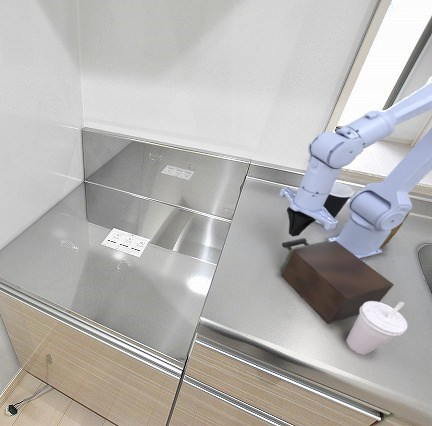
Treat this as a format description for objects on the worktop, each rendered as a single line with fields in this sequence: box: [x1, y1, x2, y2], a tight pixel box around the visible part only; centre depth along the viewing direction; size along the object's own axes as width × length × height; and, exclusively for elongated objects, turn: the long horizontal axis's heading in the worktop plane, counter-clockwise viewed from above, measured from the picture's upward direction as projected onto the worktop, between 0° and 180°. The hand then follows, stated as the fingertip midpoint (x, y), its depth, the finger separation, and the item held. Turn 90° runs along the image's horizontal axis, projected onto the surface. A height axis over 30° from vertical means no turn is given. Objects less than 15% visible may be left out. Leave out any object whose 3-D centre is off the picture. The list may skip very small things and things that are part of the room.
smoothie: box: [345, 301, 408, 356], centre depth 53 cm, size 6×6×14 cm
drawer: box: [281, 237, 329, 272], centre depth 67 cm, size 17×10×7 cm, turn 15°
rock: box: [380, 210, 411, 249], centre depth 80 cm, size 11×9×10 cm
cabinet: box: [281, 241, 395, 325], centre depth 64 cm, size 14×12×9 cm
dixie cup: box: [314, 181, 355, 225], centre depth 85 cm, size 8×8×11 cm
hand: (293, 234), depth 72 cm, fingers closed
